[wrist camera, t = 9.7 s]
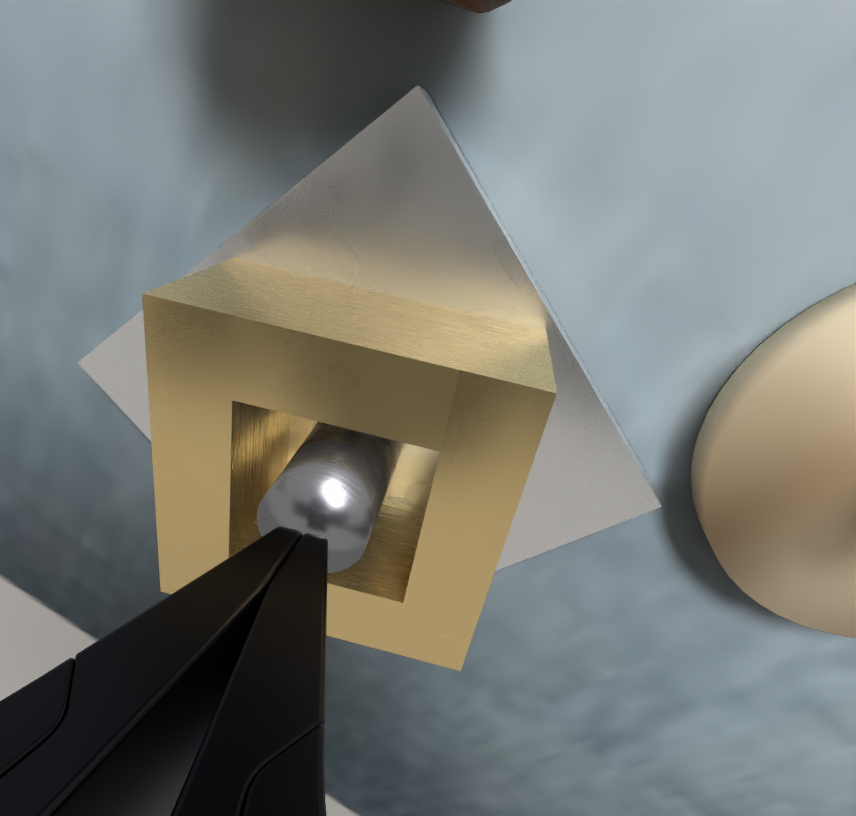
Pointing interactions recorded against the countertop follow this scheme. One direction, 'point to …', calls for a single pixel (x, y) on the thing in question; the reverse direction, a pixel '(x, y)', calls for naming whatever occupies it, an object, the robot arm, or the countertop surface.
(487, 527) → the brass square sleeve
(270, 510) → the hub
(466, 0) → the bolt
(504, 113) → the countertop surface
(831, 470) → the stand
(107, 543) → the countertop surface
